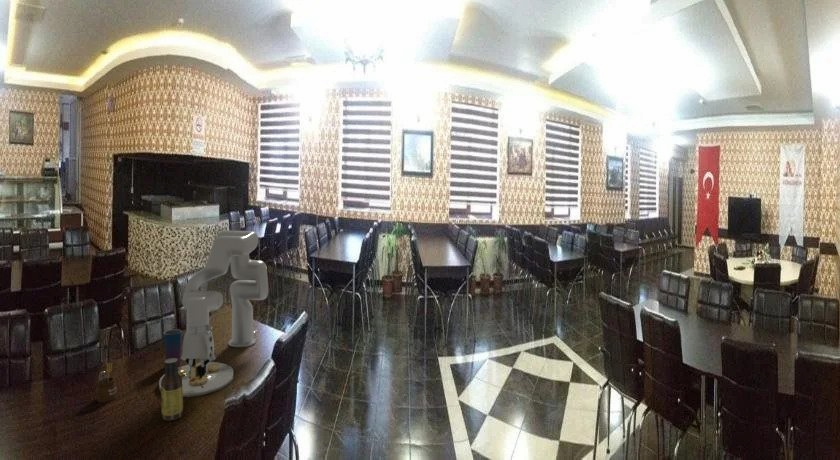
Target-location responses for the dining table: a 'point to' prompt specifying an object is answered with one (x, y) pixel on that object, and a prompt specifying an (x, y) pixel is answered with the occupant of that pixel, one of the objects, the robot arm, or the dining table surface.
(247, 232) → the robot arm
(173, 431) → the dining table surface
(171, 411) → the sauce bottle
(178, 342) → the cup
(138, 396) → the dining table surface
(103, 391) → the utensil holder
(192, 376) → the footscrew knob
